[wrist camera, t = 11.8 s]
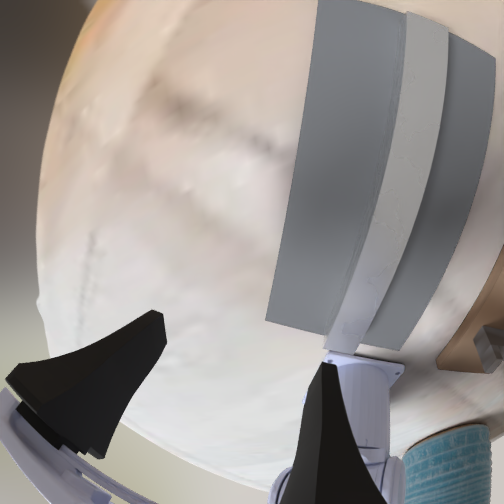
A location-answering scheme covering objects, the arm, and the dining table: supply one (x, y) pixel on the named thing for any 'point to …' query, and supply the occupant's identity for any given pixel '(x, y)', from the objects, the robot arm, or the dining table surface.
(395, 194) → the rail
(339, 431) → the robot arm
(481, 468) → the vase
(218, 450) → the dining table surface
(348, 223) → the mat
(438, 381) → the dining table surface
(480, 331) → the rack
